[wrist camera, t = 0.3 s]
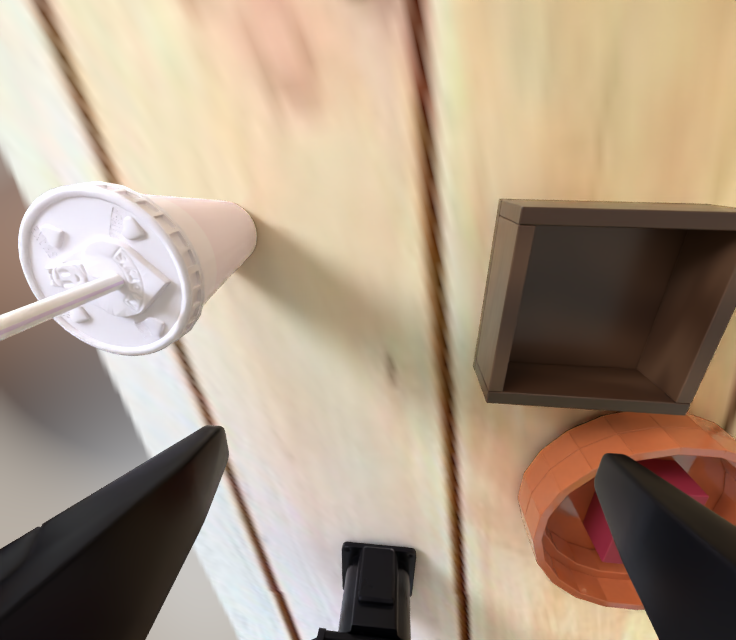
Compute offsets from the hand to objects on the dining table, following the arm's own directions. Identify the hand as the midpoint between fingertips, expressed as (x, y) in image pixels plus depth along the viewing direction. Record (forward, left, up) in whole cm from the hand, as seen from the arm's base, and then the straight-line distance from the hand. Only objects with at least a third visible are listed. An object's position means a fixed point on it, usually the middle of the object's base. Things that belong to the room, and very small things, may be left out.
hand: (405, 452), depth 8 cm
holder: (-1, -10, -14) cm, 18 cm away
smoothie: (+2, +11, -15) cm, 18 cm away
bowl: (-16, -17, -14) cm, 27 cm away
